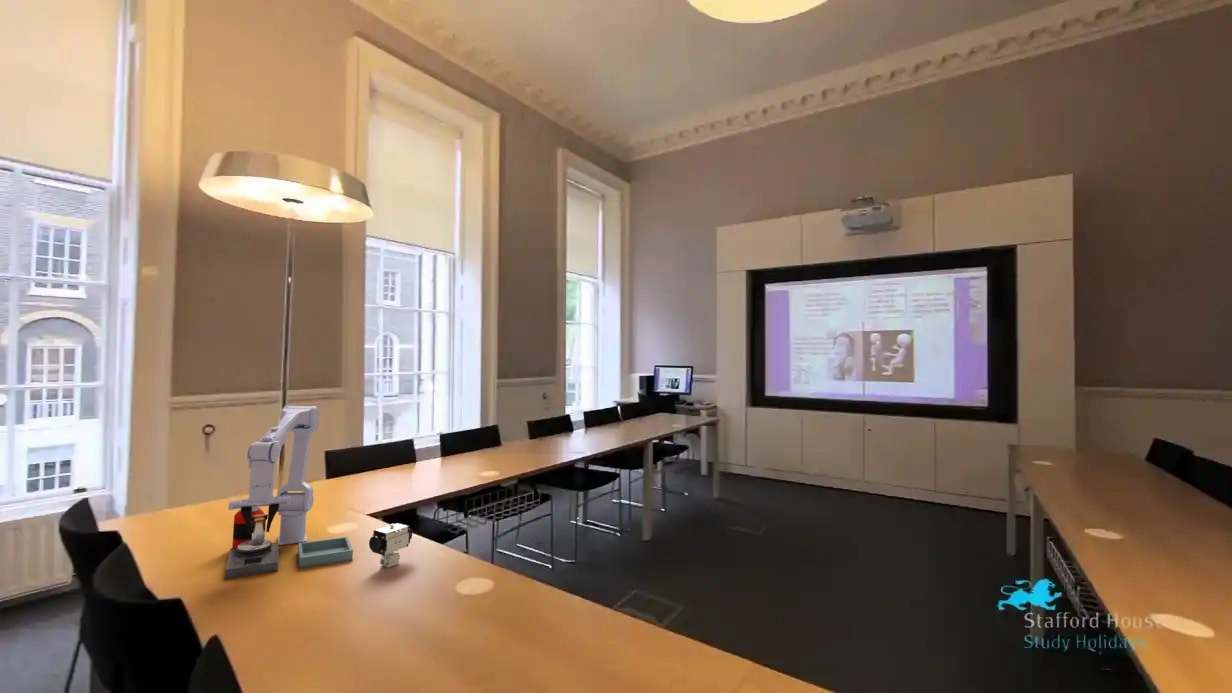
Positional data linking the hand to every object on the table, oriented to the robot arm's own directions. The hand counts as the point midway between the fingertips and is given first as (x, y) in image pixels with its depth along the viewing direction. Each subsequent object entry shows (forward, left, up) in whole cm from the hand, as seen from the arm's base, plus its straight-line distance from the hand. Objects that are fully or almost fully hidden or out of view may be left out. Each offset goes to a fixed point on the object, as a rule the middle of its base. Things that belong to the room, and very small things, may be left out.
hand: (258, 532), depth 146 cm
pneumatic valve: (+14, +33, -11) cm, 37 cm away
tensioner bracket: (-5, -1, -10) cm, 11 cm away
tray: (-2, +17, -10) cm, 20 cm away
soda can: (-20, -3, -11) cm, 23 cm away
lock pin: (0, 0, -3) cm, 3 cm away
